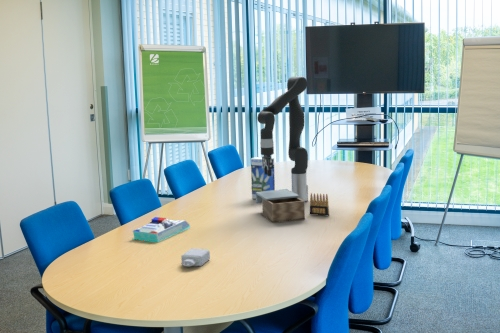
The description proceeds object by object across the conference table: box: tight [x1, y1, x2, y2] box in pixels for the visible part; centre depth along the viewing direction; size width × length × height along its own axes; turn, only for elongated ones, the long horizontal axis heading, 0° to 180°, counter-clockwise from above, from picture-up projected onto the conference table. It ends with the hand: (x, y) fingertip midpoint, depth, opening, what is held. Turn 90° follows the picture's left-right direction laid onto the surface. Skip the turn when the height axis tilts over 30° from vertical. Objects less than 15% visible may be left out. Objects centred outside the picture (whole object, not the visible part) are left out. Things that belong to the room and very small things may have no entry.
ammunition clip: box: [309, 192, 330, 216], centre depth 317 cm, size 11×2×12 cm, turn 65°
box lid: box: [255, 188, 299, 204], centre depth 324 cm, size 19×20×6 cm
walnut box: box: [261, 197, 306, 224], centre depth 315 cm, size 18×18×10 cm
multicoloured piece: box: [132, 216, 191, 243], centre depth 292 cm, size 17×30×9 cm, turn 153°
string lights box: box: [250, 156, 276, 200], centre depth 364 cm, size 13×8×26 cm, turn 62°
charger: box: [180, 248, 211, 268], centre depth 242 cm, size 5×9×15 cm
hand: (267, 175), depth 336 cm, fingers open, 5 cm apart
